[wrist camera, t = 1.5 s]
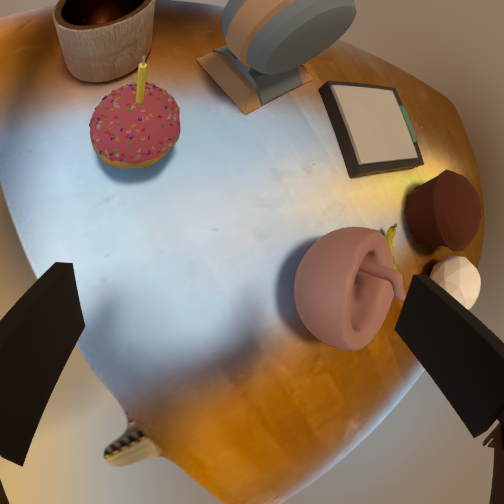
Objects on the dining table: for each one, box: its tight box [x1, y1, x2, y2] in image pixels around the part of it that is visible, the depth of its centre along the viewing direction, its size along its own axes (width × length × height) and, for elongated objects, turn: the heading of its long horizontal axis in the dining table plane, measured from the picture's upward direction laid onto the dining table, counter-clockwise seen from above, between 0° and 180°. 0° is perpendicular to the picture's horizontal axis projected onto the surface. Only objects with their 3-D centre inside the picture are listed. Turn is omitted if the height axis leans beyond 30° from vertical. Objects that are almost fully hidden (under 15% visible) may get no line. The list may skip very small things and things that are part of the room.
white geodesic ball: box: [430, 256, 480, 310], centre depth 36 cm, size 9×9×12 cm
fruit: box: [386, 224, 397, 270], centre depth 35 cm, size 7×1×3 cm, turn 16°
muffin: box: [405, 170, 481, 251], centre depth 35 cm, size 12×11×10 cm
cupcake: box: [89, 55, 180, 168], centre depth 22 cm, size 9×8×12 cm
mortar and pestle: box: [294, 227, 406, 351], centre depth 28 cm, size 12×12×12 cm
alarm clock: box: [196, 0, 356, 115], centre depth 24 cm, size 14×10×18 cm
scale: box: [319, 81, 424, 178], centre depth 36 cm, size 13×14×3 cm
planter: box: [53, 0, 156, 82], centre depth 22 cm, size 11×11×10 cm
